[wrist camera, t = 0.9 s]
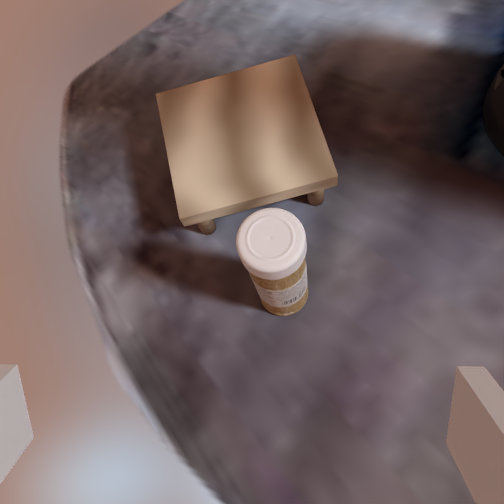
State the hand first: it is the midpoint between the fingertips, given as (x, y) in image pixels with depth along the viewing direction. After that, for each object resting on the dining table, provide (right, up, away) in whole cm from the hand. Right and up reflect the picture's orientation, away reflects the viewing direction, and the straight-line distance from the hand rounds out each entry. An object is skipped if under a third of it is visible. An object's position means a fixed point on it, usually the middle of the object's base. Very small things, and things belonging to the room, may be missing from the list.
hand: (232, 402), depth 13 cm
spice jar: (+4, +1, +27) cm, 28 cm away
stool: (0, +13, +32) cm, 35 cm away
